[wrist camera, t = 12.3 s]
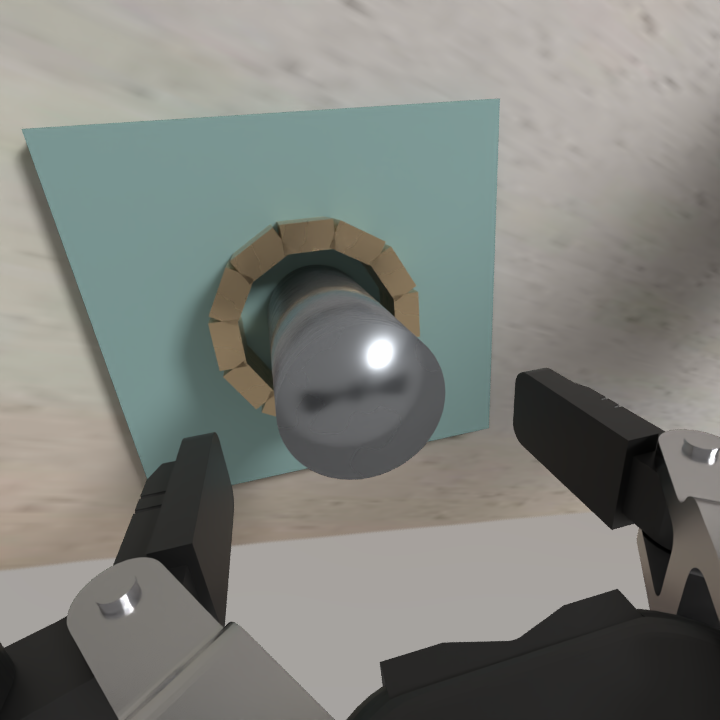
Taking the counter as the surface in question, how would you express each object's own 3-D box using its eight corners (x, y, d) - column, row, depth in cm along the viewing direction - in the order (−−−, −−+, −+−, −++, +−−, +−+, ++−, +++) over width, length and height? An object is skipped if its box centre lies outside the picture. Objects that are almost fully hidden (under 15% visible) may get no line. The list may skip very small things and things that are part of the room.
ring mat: (488, 102, 20) (499, 98, 19) (481, 420, 27) (488, 428, 26) (34, 132, 17) (21, 129, 16) (159, 490, 23) (155, 501, 23)
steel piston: (361, 258, 20) (445, 311, 11) (368, 352, 22) (445, 461, 13) (258, 271, 19) (261, 339, 10) (275, 367, 21) (290, 494, 12)
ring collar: (396, 208, 20) (415, 209, 18) (406, 382, 24) (422, 401, 21) (194, 230, 18) (186, 235, 16) (238, 414, 22) (236, 439, 20)
